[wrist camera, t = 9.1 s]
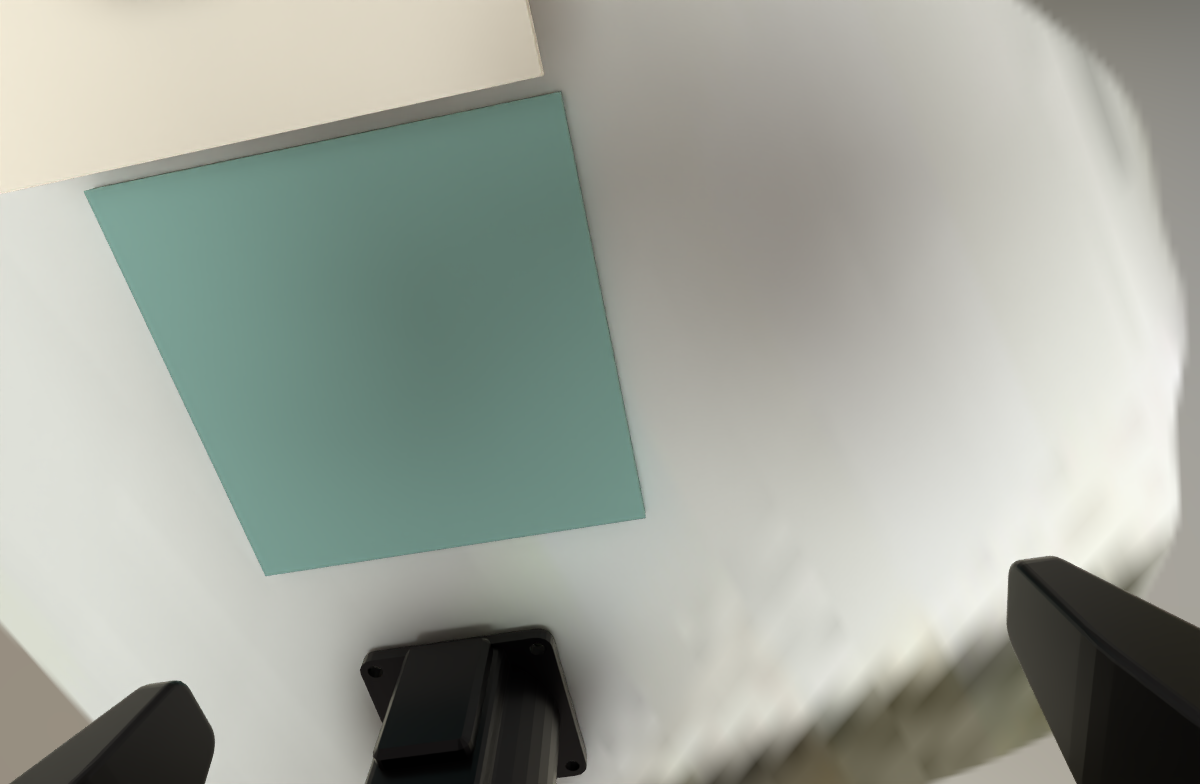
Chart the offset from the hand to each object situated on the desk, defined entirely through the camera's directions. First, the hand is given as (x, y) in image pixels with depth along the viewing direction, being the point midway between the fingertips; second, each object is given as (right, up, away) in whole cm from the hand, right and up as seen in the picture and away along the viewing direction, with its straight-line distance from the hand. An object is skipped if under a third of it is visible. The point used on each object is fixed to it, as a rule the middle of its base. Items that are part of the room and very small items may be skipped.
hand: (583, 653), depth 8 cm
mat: (-6, +4, +13) cm, 14 cm away
